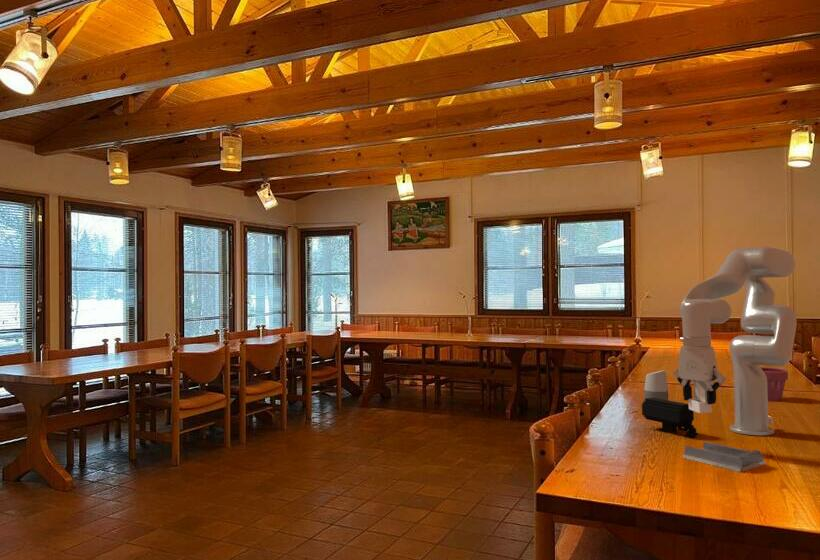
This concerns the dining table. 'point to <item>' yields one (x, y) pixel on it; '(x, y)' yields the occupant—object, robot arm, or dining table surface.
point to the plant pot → (775, 382)
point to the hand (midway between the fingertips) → (699, 401)
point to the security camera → (670, 415)
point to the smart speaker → (656, 385)
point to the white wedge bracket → (700, 398)
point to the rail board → (725, 456)
